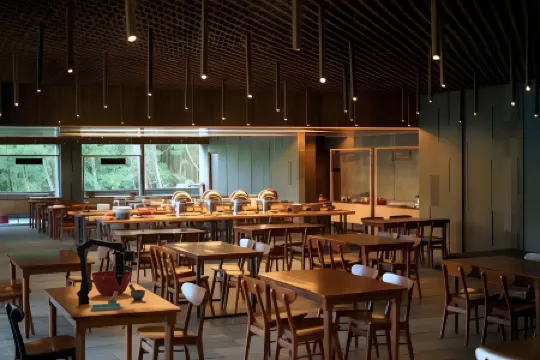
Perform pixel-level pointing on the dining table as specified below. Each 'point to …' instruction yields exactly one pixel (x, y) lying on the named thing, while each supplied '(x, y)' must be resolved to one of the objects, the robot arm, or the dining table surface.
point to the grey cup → (112, 301)
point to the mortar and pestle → (136, 293)
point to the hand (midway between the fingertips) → (119, 284)
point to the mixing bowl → (110, 282)
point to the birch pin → (114, 296)
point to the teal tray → (105, 307)
